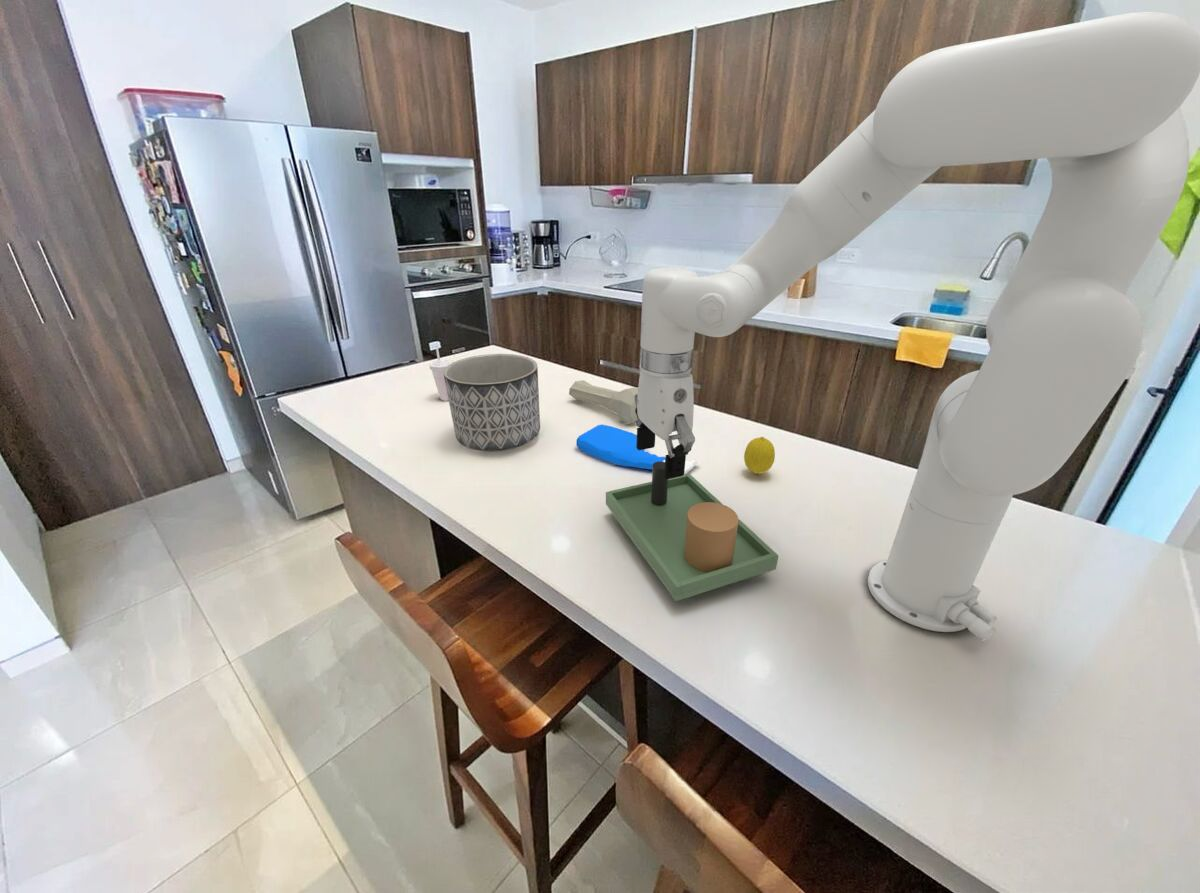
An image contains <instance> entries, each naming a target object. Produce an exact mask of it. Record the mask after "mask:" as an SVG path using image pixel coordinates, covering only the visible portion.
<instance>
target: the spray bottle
mask: <svg viewBox="0 0 1200 893" xmlns="http://www.w3.org/2000/svg"><path fill="white" fill-rule="evenodd" d="M636 443H637V433H636V434H635V433H634V432H631V431H629V430H624V429H621V428H618V427H615V426H612V425H607V424H597V425H596V426H594V427H592V428H591V429H589V430H587V431H585V432H584V433H582V434H580V435H578V437H577V438H576V443H575V445H576V447H577V448H578V450H580V451H581V452H583V453H585V454H587V455H589V456H591V457H594V458H596V459H599V460H601V461H605V462H607V463H610V464H614V465H617V466H622V467H626V468H629V467H632V468H638V469H645V470H652V469H653V463H655V462H658V461H662V462H665V456H658V455H657V454H654V453H651V452H649V451H645V449H644V450H638V449H637V448H636ZM697 464H698V461H697V459H692V460H688V459H687V460H685V470H684V474H687V473H690V471H692V470H693V469H694V468H695V466H696V465H697Z"/></svg>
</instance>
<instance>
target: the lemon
mask: <svg viewBox="0 0 1200 893" xmlns="http://www.w3.org/2000/svg"><path fill="white" fill-rule="evenodd" d="M775 458H776V452H775V446H774V444H773V443H772V442H771V440H769V439H768V438H765V437H764V436H760V437H755V438H753V439H752V440H750V441H749V442H748V443H747V445H746V447H745V450H744V454H743V460H744V465H745V466H746V468H747V469H748V470H749V471H750V472H752V473H754V475H759V474H763V473H766V472H768V471H769V470H771V469H772V467H773V464H774V462H775Z"/></svg>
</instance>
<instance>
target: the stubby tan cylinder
mask: <svg viewBox="0 0 1200 893" xmlns="http://www.w3.org/2000/svg"><path fill="white" fill-rule="evenodd" d="M722 504H723V503H722ZM722 504H719V503H713V502H704V503H699V504H696V505H694V506H692V507H691V508H690V509H689V510H688V513H687V524H686V536H685V548H684V557H685V560H686V561H687V563H688V564H689V565H690V566H692V567H693V568H695V569H697V570H699V571H703V572H708V573H709V572H712V571H715V570H719V569H722V568H725V567H728V566H731V564H732V561H733V555H734V548H735V541H736V534H737V527H738V519H739V515H738V514H737V513H736V512H735V510H734V509H732V508H731V507H730V506H727V505H726V504H723V505H722Z"/></svg>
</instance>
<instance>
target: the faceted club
mask: <svg viewBox="0 0 1200 893" xmlns="http://www.w3.org/2000/svg"><path fill="white" fill-rule="evenodd" d="M568 390H569V391H568V395H569V396H570V397H572V398H573V399H575V400H576V401H578V402H584V403H585V402H586V403H589V404H593V405H597V406H601V407H603V408H605V409H607V410H609V411H611V412H613V413H615V414H616V415H617V417H619V418H620V420H621V422H623V423H624V424H626V425H629V424H632V423H636V420H637V419H638V418H637V415H636V413H635V409H636V408H637V407H636V404H635V398H634V396H635V395H636V394H638V386H637V387H630V388H625V389H623V390H621V391H618V390H613V389H609V388H605V387H601V386H596V385H593V384H591V383H589V382H587V381H586V380H585V379H584V380H575V381H574V382H573V383H572V385H571V386H570V387H569V389H568Z"/></svg>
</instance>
